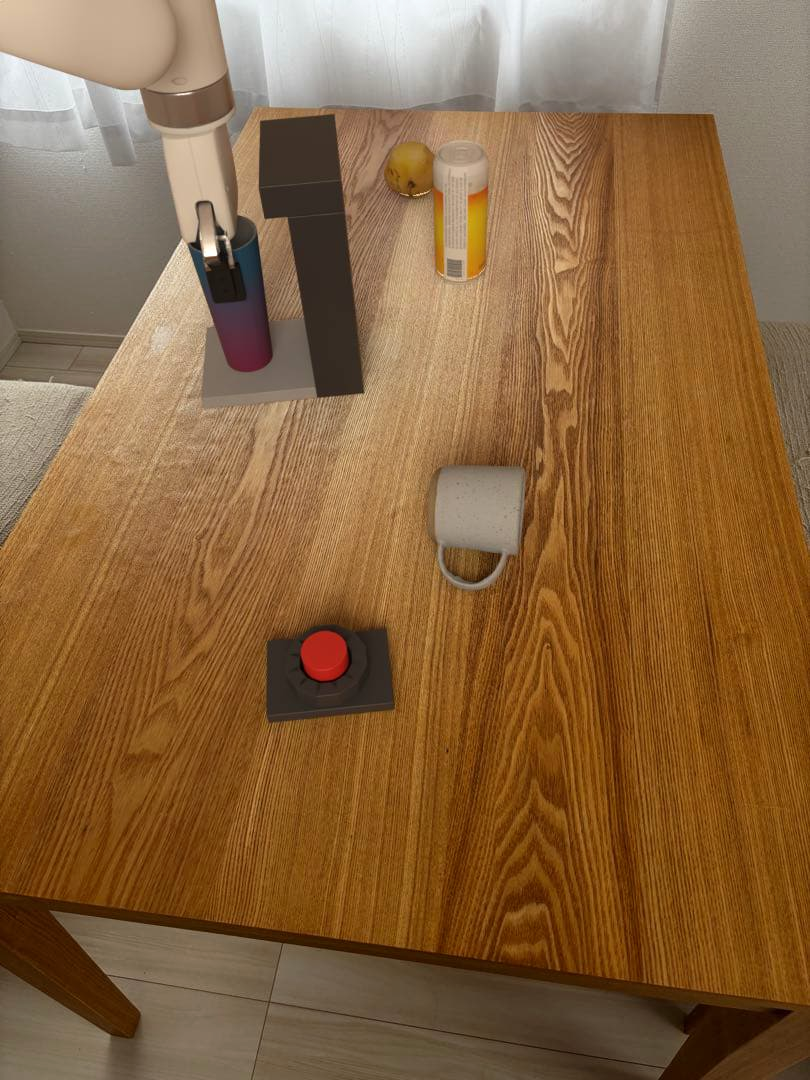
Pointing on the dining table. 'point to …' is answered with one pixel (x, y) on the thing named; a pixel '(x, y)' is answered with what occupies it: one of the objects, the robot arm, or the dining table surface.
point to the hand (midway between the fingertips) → (230, 278)
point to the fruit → (410, 169)
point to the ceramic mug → (476, 513)
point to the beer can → (460, 210)
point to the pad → (347, 694)
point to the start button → (324, 656)
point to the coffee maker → (300, 276)
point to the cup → (240, 302)
